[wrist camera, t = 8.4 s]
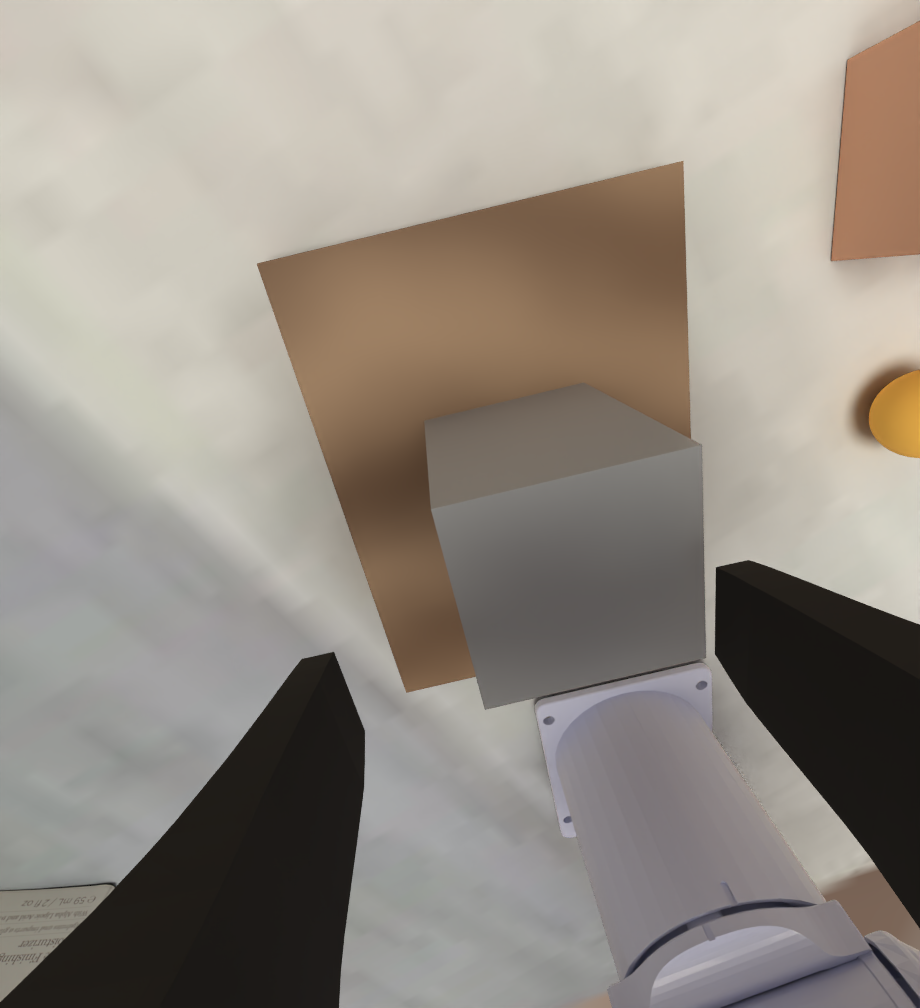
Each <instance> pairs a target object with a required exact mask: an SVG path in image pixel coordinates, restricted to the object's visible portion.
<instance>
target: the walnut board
mask: <svg viewBox="0 0 920 1008" xmlns="http://www.w3.org/2000/svg"><path fill="white" fill-rule="evenodd" d="M257 266H258V269H259V272H260V274H261V277H262V280H263V283H264V286H265V289H266V292H267V295H268V297H269V300H270V303H271V306H272V309H273V312H274V315H275V317H276V320H277V323H278V326H279V329H280V332H281V335H282V338H283V340H284V343H285V346H286V349H287V352H288V355H289V358H290V360H291V363H292V366H293V369H294V372H295V375H296V378H297V381H298V383H299V386H300V389H301V392H302V395H303V398H304V401H305V403H306V406H307V409H308V412H309V415H310V418H311V421H312V423H313V426H314V429H315V432H316V435H317V438H318V441H319V444H320V446H321V449H322V452H323V455H324V458H325V461H326V464H327V466H328V469H329V472H330V475H331V478H332V481H333V484H334V487H335V489H336V492H337V495H338V498H339V501H340V504H341V507H342V509H343V512H344V515H345V518H346V521H347V524H348V527H349V530H350V532H351V535H352V538H353V541H354V544H355V547H356V550H357V552H358V555H359V558H360V561H361V564H362V567H363V570H364V573H365V575H366V578H367V581H368V584H369V587H370V590H371V593H372V595H373V598H374V601H375V604H376V607H377V610H378V613H379V616H380V618H381V621H382V624H383V627H384V630H385V633H386V636H387V638H388V641H389V644H390V647H391V650H392V653H393V656H394V659H395V661H396V664H397V667H398V670H399V673H400V676H401V679H402V681H403V684H404V687H405V690H406V693H407V692H411V691H416V690H420V689H424V688H429V687H433V686H437V685H441V684H446V683H450V682H454V681H459V680H463V679H467V678H472V677H476V675H475V671H474V667H473V664H472V660H471V656H470V652H469V649H468V645H467V641H466V638H465V634H464V630H463V626H462V623H461V619H460V615H459V612H458V608H457V604H456V600H455V597H454V593H453V589H452V586H451V582H450V578H449V575H448V571H447V567H446V563H445V560H444V556H443V552H442V549H441V545H440V541H439V537H438V534H437V530H436V526H435V523H434V519H433V515H432V512H431V504H430V491H429V477H428V464H427V451H426V438H425V424H424V421H425V420H429V419H433V418H438V417H442V416H446V415H450V414H454V413H458V412H463V411H467V410H471V409H475V408H479V407H484V406H488V405H492V404H496V403H500V402H504V401H509V400H513V399H517V398H521V397H525V396H530V395H534V394H538V393H542V392H546V391H550V390H555V389H559V388H563V387H567V386H571V385H575V384H580V383H586V384H588V385H590V386H591V387H593V388H595V389H597V390H599V391H601V392H603V393H605V394H607V395H608V396H610V397H612V398H614V399H616V400H618V401H620V402H622V403H624V404H625V405H627V406H629V407H631V408H633V409H635V410H637V411H639V412H641V413H642V414H644V415H646V416H648V417H650V418H652V419H654V420H656V421H658V422H659V423H661V424H663V425H665V426H667V427H669V428H671V429H673V430H675V431H676V432H678V433H680V434H682V435H684V436H686V437H688V438H690V439H691V429H690V392H689V355H688V318H687V282H686V245H685V208H684V171H683V161H681V162H677V163H673V164H669V165H664V166H660V167H656V168H652V169H648V170H644V171H640V172H635V173H631V174H627V175H623V176H619V177H615V178H610V179H606V180H602V181H598V182H594V183H590V184H586V185H581V186H577V187H573V188H569V189H565V190H561V191H557V192H552V193H548V194H544V195H540V196H536V197H532V198H527V199H523V200H519V201H515V202H511V203H507V204H503V205H498V206H494V207H490V208H486V209H482V210H478V211H473V212H469V213H465V214H461V215H457V216H453V217H449V218H444V219H440V220H436V221H432V222H428V223H424V224H420V225H415V226H411V227H407V228H403V229H399V230H395V231H390V232H386V233H382V234H378V235H374V236H370V237H366V238H361V239H357V240H353V241H349V242H345V243H341V244H337V245H332V246H328V247H324V248H320V249H316V250H312V251H307V252H303V253H299V254H295V255H291V256H287V257H283V258H278V259H274V260H270V261H266V262H262V263H258V264H257Z"/></svg>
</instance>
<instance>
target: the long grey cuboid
mask: <svg viewBox="0 0 920 1008" xmlns="http://www.w3.org/2000/svg"><path fill="white" fill-rule="evenodd" d="M424 424H425V438H426V451H427V464H428V477H429V491H430V504H431V512H432V515H433V519H434V523H435V526H436V530H437V534H438V537H439V541H440V545H441V549H442V552H443V556H444V560H445V563H446V567H447V571H448V575H449V578H450V582H451V586H452V589H453V593H454V597H455V600H456V604H457V608H458V612H459V615H460V619H461V623H462V626H463V630H464V634H465V638H466V641H467V645H468V649H469V652H470V656H471V660H472V664H473V667H474V671H475V675H476V678H477V682H478V686H479V689H480V693H481V697H482V701H483V704H484V708H485V710H486V709H490V708H494V707H499V706H503V705H507V704H511V703H516V702H520V701H524V700H529V699H533V698H537V697H541V696H546V695H550V694H554V693H559V692H563V691H567V690H571V689H576V688H580V687H584V686H589V685H593V684H597V683H601V682H606V681H610V680H614V679H619V678H623V677H627V676H631V675H636V674H640V673H644V672H649V671H653V670H657V669H661V668H666V667H670V666H674V665H679V664H683V663H687V662H691V661H696V660H700V659H704V658H706V631H705V580H704V529H703V478H702V445H701V444H699V443H697V442H695V441H693V440H692V439H690V438H688V437H686V436H684V435H682V434H680V433H678V432H676V431H675V430H673V429H671V428H669V427H667V426H665V425H663V424H661V423H659V422H658V421H656V420H654V419H652V418H650V417H648V416H646V415H644V414H642V413H641V412H639V411H637V410H635V409H633V408H631V407H629V406H627V405H625V404H624V403H622V402H620V401H618V400H616V399H614V398H612V397H610V396H608V395H607V394H605V393H603V392H601V391H599V390H597V389H595V388H593V387H591V386H590V385H588V384H586V383H580V384H575V385H571V386H567V387H563V388H559V389H555V390H550V391H546V392H542V393H538V394H534V395H530V396H525V397H521V398H517V399H513V400H509V401H504V402H500V403H496V404H492V405H488V406H484V407H479V408H475V409H471V410H467V411H463V412H458V413H454V414H450V415H446V416H442V417H438V418H433V419H429V420H425V421H424Z"/></svg>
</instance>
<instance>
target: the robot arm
mask: <svg viewBox="0 0 920 1008" xmlns="http://www.w3.org/2000/svg"><path fill="white" fill-rule="evenodd" d="M715 655H716V656H717V658H718V659H719V661H720V663H721V664H722V666H723V668H724V669H725V671H726V672H727V674H728V676H729V677H730V679H731V681H732V682H733V684H734V685H735V687H736V688H737V690H738V691H739V693H740V694H741V696H742V697H743V699H744V700H745V702H746V703H747V705H748V706H749V707H750V709H751V710H752V711H753V712H754V714H755V715H756V716H757V717H758V719H759V720H760V721H761V722H762V724H763V725H764V726H765V727H766V728H767V730H768V731H769V732H770V733H771V735H772V736H773V737H774V738H775V740H776V741H777V742H778V743H779V745H780V746H781V747H782V748H783V749H784V751H785V752H786V753H787V754H788V755H789V757H790V758H791V759H792V760H793V762H794V763H795V764H796V765H797V766H798V768H799V769H800V770H801V771H802V772H803V774H804V775H805V776H806V777H807V779H808V780H809V781H810V782H811V783H812V785H813V786H814V787H815V788H816V790H817V791H818V792H819V793H820V794H821V796H822V797H823V798H824V799H825V800H826V802H827V803H828V804H829V805H830V807H831V808H832V809H833V810H834V811H835V813H836V814H837V815H838V816H839V817H840V819H841V820H842V821H843V822H844V824H845V825H846V826H847V827H848V829H849V830H850V831H851V833H852V834H853V835H854V837H855V838H856V839H857V840H858V842H859V843H860V844H861V846H862V847H863V848H864V850H865V851H866V852H867V854H868V855H869V856H870V858H871V859H872V860H873V862H874V863H875V865H876V866H877V868H878V869H879V871H880V872H881V873H882V875H883V876H884V878H885V879H886V881H887V882H888V883H889V885H890V886H891V888H892V889H893V891H894V892H895V894H896V895H897V896H898V898H899V899H900V901H901V902H902V904H903V905H904V906H905V908H906V909H907V911H908V912H909V914H910V915H911V917H912V918H913V919H914V921H915V922H916V924H917V925H918V926H919V928H920V625H919V624H916V623H914V622H911V621H908V620H905V619H903V618H900V617H897V616H895V615H892V614H889V613H887V612H884V611H881V610H879V609H876V608H873V607H871V606H868V605H866V604H863V603H860V602H858V601H855V600H853V599H850V598H847V597H845V596H842V595H840V594H837V593H835V592H832V591H830V590H827V589H825V588H822V587H819V586H817V585H814V584H812V583H809V582H807V581H804V580H802V579H799V578H797V577H794V576H791V575H789V574H786V573H784V572H781V571H778V570H776V569H773V568H770V567H767V566H765V565H762V564H759V563H756V562H753V561H749V560H747V561H743V562H738V563H734V564H729V565H725V566H720V567H716V609H715ZM700 681H701V682H700ZM698 682H699V683H698ZM535 713H536V718H537V723H538V728H539V732H540V737H541V742H542V746H543V751H544V756H545V761H546V765H547V770H548V775H549V780H550V784H551V789H552V794H553V799H554V803H555V808H556V813H557V818H558V822H559V827H560V831H561V834H562V836H564V837H567V838H572V837H577V839H578V842H579V845H580V849H581V852H582V855H583V859H584V862H585V865H586V869H587V872H588V876H589V879H590V882H591V886H592V889H593V892H594V896H595V899H596V902H597V906H598V909H599V912H600V916H601V919H602V922H603V926H604V929H605V932H606V936H607V939H608V943H609V946H610V949H611V953H612V956H613V959H614V963H615V966H616V969H617V973H618V976H619V979H620V982H618V983H615V984H613V985H611V986H609V987H608V989H607V991H608V994H609V998H610V1002H611V1005H612V1008H920V951H919V950H917V949H915V948H913V947H911V946H909V945H907V944H905V943H903V942H901V941H899V940H898V939H897V938H895V937H894V936H893V935H891V934H889V933H887V932H885V931H876V932H873V933H871V934H868V935H865V936H864V938H863V936H862V935H861V934H860V932H859V931H858V929H857V928H856V926H855V925H854V924H853V922H852V921H851V919H850V918H849V916H848V915H847V913H846V912H845V911H844V909H843V908H842V906H841V905H840V903H839V902H838V901H836V900H831V901H828V902H826V900H825V899H824V897H823V896H822V894H821V893H820V891H819V890H818V888H817V887H816V885H815V884H814V882H813V881H812V879H811V878H810V876H809V875H808V873H807V872H806V870H805V869H804V868H803V866H802V865H801V863H800V862H799V860H798V859H797V857H796V856H795V854H794V853H793V851H792V850H791V848H790V847H789V845H788V844H787V842H786V841H785V839H784V838H783V836H782V835H781V834H780V832H779V831H778V829H777V828H776V826H775V825H774V823H773V822H772V820H771V819H770V817H769V816H768V814H767V813H766V811H765V810H764V808H763V807H762V805H761V804H760V803H759V801H758V800H757V798H756V797H755V795H754V794H753V792H752V791H751V789H750V788H749V786H748V785H747V783H746V782H745V780H744V779H743V777H742V776H741V774H740V773H739V771H738V770H737V769H736V767H735V766H734V764H733V763H732V761H731V760H730V758H729V757H728V755H727V754H726V752H725V751H724V749H723V748H722V746H721V745H720V743H719V742H718V740H717V739H716V737H715V736H714V735H713V726H712V672H711V670H710V669H709V667H708V666H707V665H706V664H704V663H695V664H690V665H686V666H682V667H677V668H673V669H669V670H664V671H660V672H656V673H652V674H647V675H643V676H639V677H634V678H630V679H626V680H621V681H617V682H613V683H608V684H604V685H600V686H595V687H591V688H587V689H582V690H578V691H574V692H570V693H565V694H561V695H557V696H552V697H548V698H544V699H541V700H539V701H538V702H537V703H536V705H535ZM548 716H551V717H549V718H546V717H548ZM364 768H365V730H364V728H363V725H362V722H361V720H360V717H359V715H358V712H357V710H356V707H355V705H354V702H353V699H352V697H351V694H350V692H349V689H348V687H347V684H346V682H345V679H344V676H343V674H342V671H341V669H340V666H339V664H338V661H337V659H336V656H335V653H334V652H332V653H327V654H323V655H318V656H314V657H309V658H305V659H302V660H301V661H300V662H299V663H298V665H297V666H296V667H295V668H294V670H293V671H292V672H291V674H290V675H289V676H288V678H287V679H286V680H285V682H284V683H283V685H282V686H281V687H280V689H279V690H278V691H277V693H276V694H275V695H274V697H273V698H272V699H271V701H270V702H269V704H268V705H267V706H266V708H265V709H264V710H263V712H262V713H261V714H260V716H259V717H258V718H257V720H256V721H255V722H254V724H253V725H252V726H251V728H250V729H249V730H248V732H247V733H246V734H245V736H244V737H243V738H242V740H241V741H240V742H239V743H238V745H237V746H236V747H235V749H234V750H233V751H232V753H231V754H230V755H229V757H228V758H227V759H226V760H225V762H224V763H223V764H222V765H221V767H220V768H219V769H218V770H217V771H216V773H215V774H214V775H213V776H212V778H211V779H210V780H209V781H208V782H207V784H206V785H205V786H204V787H203V789H202V790H201V791H200V792H199V793H198V795H197V796H196V797H195V798H194V800H193V801H192V802H191V803H190V804H189V806H188V807H187V808H186V809H185V810H184V812H183V813H182V814H181V815H180V817H179V818H178V819H177V820H176V821H175V823H174V824H173V825H172V826H171V827H170V828H169V829H168V831H167V832H166V833H165V834H164V835H163V836H162V837H161V839H160V840H159V841H158V842H157V843H156V844H155V845H154V846H153V848H152V849H151V850H150V851H149V852H148V853H147V854H146V855H145V856H144V858H143V859H142V860H141V861H140V862H139V863H138V864H137V865H136V866H135V867H134V868H133V869H132V870H131V871H130V873H129V874H128V875H127V876H126V877H125V878H124V879H123V880H122V881H121V882H120V883H119V884H118V885H117V886H116V888H115V889H114V890H113V891H112V892H111V893H110V894H109V895H108V896H107V897H106V898H105V899H104V900H103V901H102V902H101V903H100V904H99V905H98V906H97V907H96V909H95V910H94V911H93V912H92V913H91V914H90V915H89V916H88V917H87V918H86V919H85V920H84V921H82V922H81V923H80V924H79V925H78V926H77V927H76V928H75V929H74V930H73V931H72V932H71V933H70V934H69V935H68V936H67V937H66V938H65V939H64V940H63V941H62V942H61V943H60V944H59V945H58V946H57V947H56V948H55V949H54V950H53V951H52V952H51V953H50V954H49V955H48V956H47V957H46V958H45V959H44V960H43V961H42V962H41V963H40V964H39V965H38V966H37V967H36V968H35V969H34V970H33V971H32V972H31V973H29V974H28V975H27V976H26V977H25V978H24V979H23V980H22V981H21V982H20V983H19V984H18V985H17V986H16V987H15V988H14V989H13V990H12V991H11V992H10V993H9V994H8V995H7V996H6V997H5V998H4V999H3V1000H2V1001H1V1002H0V1008H339V995H340V976H341V964H342V954H343V944H344V934H345V927H346V920H347V912H348V905H349V897H350V890H351V883H352V875H353V868H354V860H355V853H356V846H357V838H358V831H359V823H360V815H361V807H362V799H363V791H364Z"/></svg>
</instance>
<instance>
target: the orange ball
mask: <svg viewBox="0 0 920 1008" xmlns="http://www.w3.org/2000/svg"><path fill="white" fill-rule="evenodd" d="M869 425H870V428H871V431H872V433H873V435H874V436H875V438H876V439H877V441H878V442H879V443H880V444H881V445H883V446H884V447H885V448H887V449H888V450H890V451H892V452H895V453H897V454H899V455H903V456H907V457H914V458H920V370H917V371H913V372H910V373H907V374H905V375H903V376H901V377H899V378H897V379H895V380H893V381H892V382H890V383H889V384H888V385H887V386H885V387H884V388H883V389H882V390H881V391H880V392H879V394H878V395H877V396H876V398H875V399H874V401H873V403H872V405H871V408H870V412H869Z"/></svg>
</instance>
